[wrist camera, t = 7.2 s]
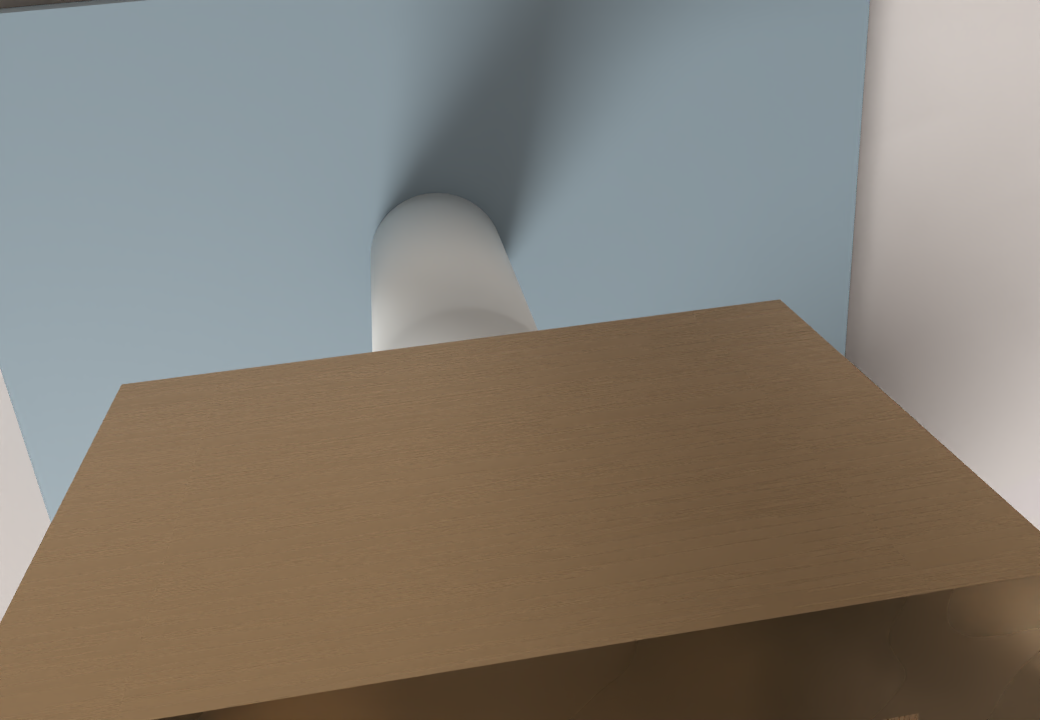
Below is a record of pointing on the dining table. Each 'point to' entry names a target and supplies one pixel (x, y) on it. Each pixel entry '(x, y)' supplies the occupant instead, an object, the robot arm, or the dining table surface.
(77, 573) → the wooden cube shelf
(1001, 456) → the dining table surface
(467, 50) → the post board
